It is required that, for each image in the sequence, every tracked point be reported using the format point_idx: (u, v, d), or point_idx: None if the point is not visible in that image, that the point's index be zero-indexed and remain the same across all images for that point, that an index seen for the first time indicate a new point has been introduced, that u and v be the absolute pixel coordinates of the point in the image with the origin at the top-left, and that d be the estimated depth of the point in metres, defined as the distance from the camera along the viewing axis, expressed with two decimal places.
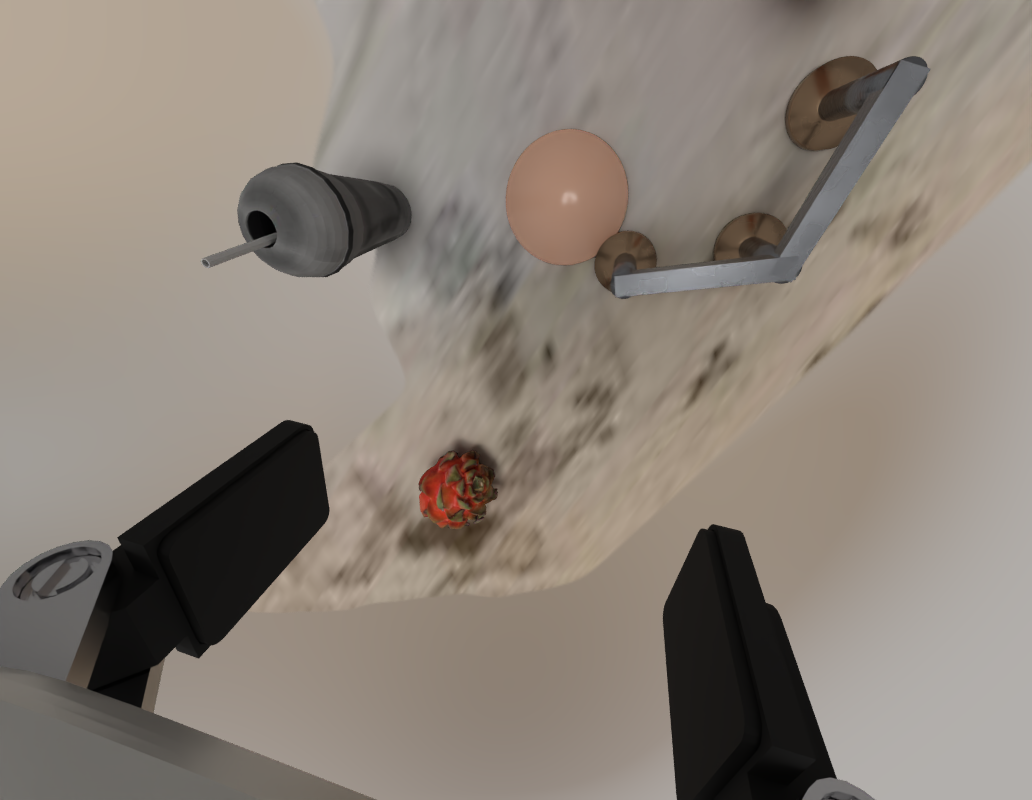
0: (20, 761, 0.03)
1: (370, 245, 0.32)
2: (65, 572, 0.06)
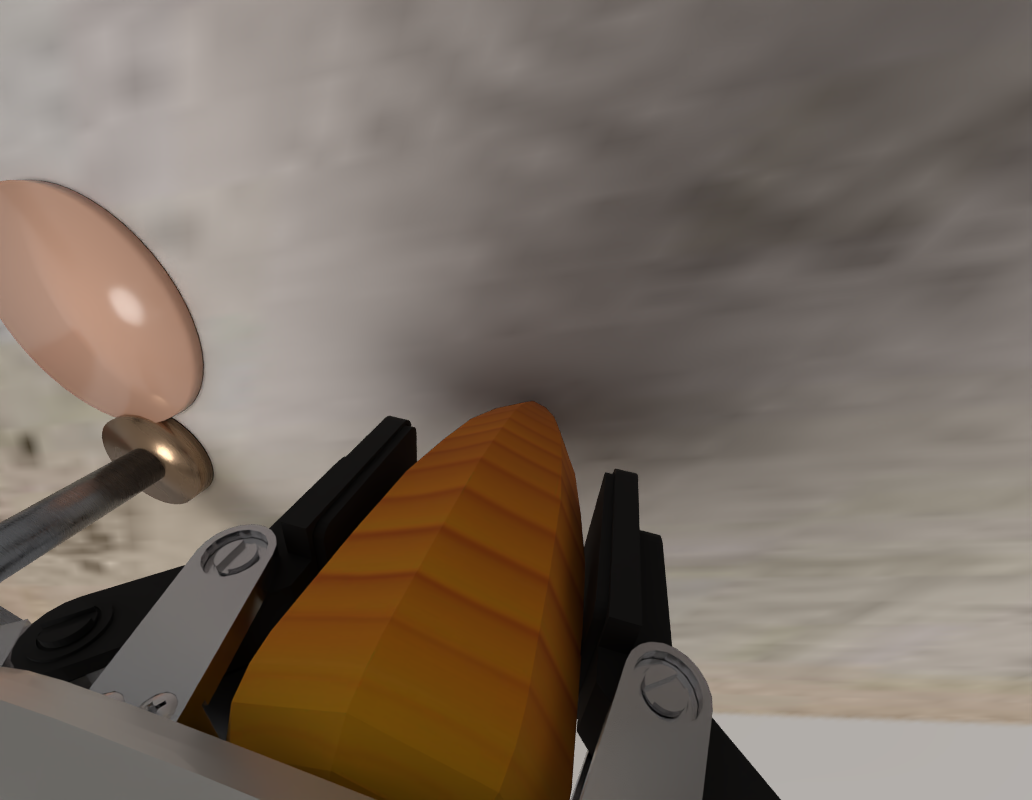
0: (20, 761, 0.03)
1: None
2: (238, 552, 0.07)
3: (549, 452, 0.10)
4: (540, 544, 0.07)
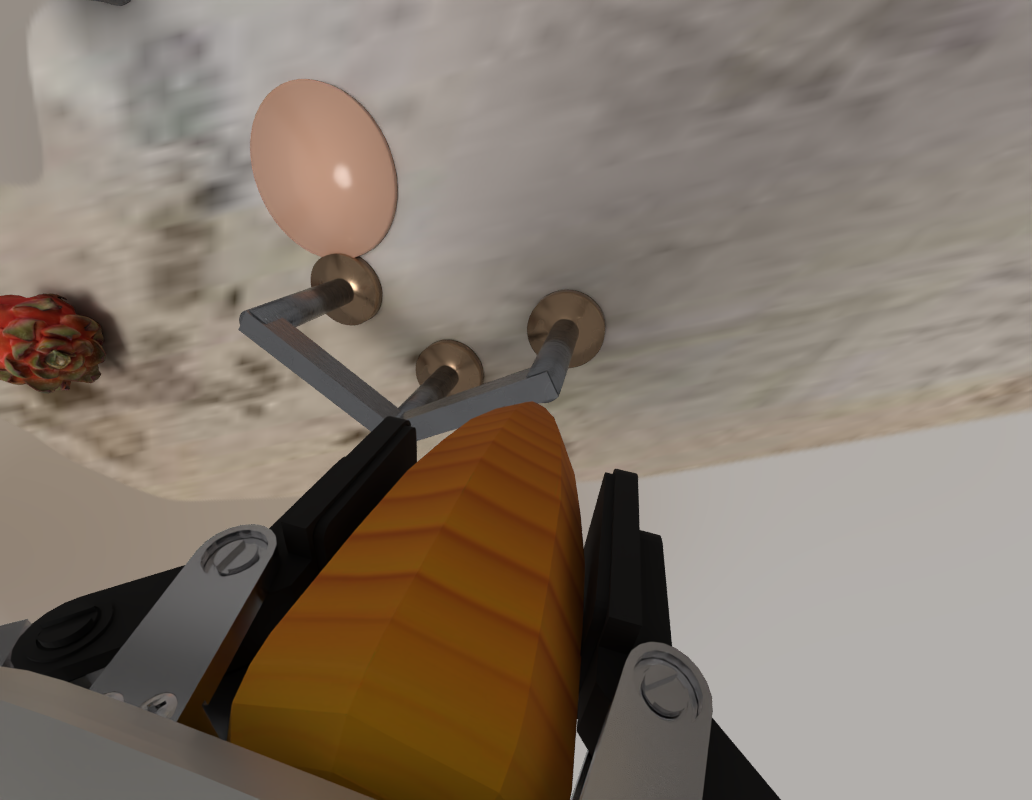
0: (20, 761, 0.03)
1: None
2: (238, 552, 0.07)
3: (548, 453, 0.10)
4: (540, 544, 0.07)
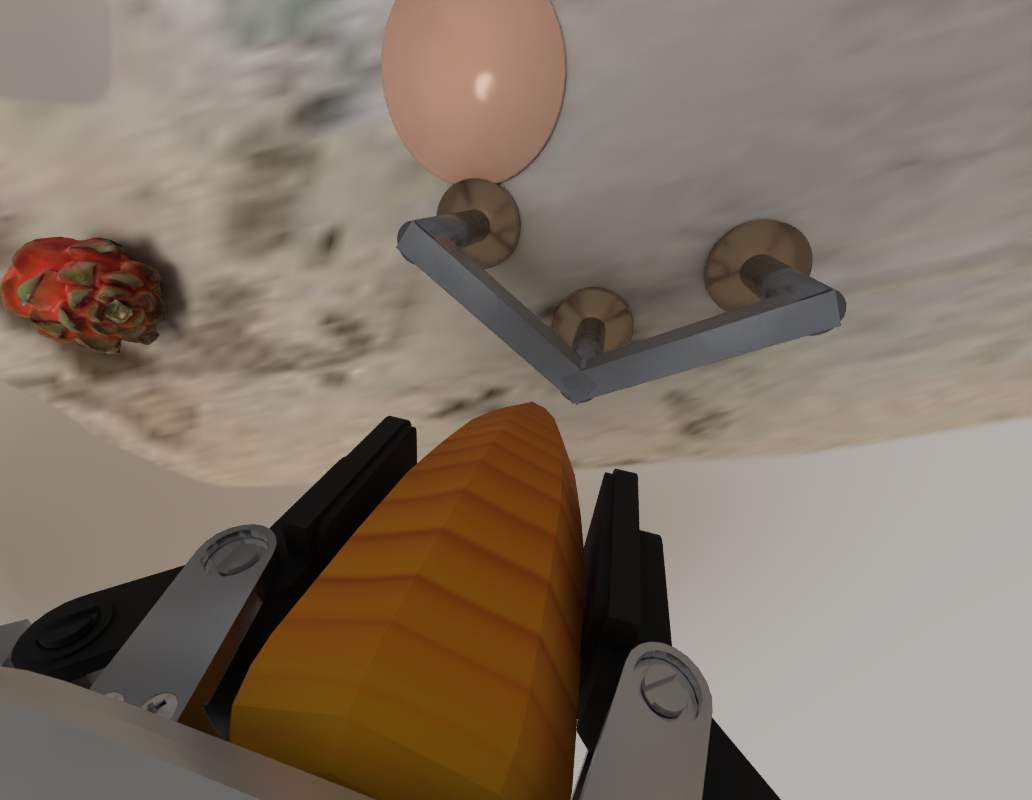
0: (20, 761, 0.03)
1: None
2: (238, 552, 0.07)
3: (549, 454, 0.10)
4: (540, 546, 0.07)
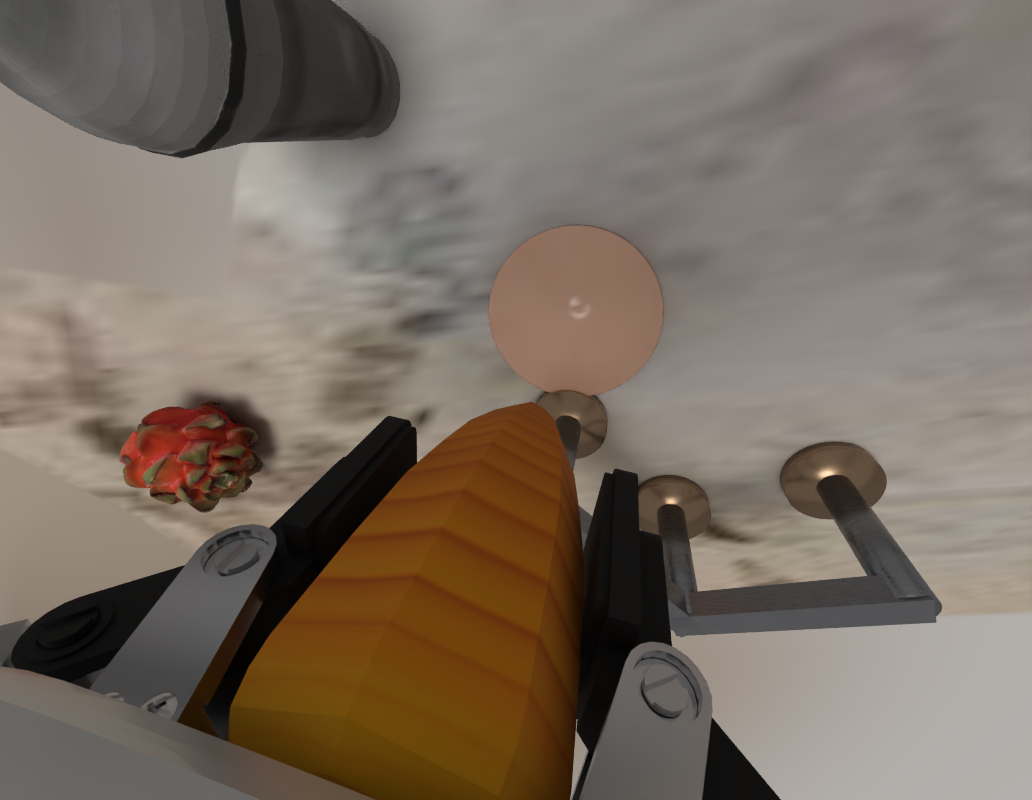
0: (20, 761, 0.03)
1: (269, 141, 0.16)
2: (238, 552, 0.07)
3: (548, 454, 0.10)
4: (540, 546, 0.07)
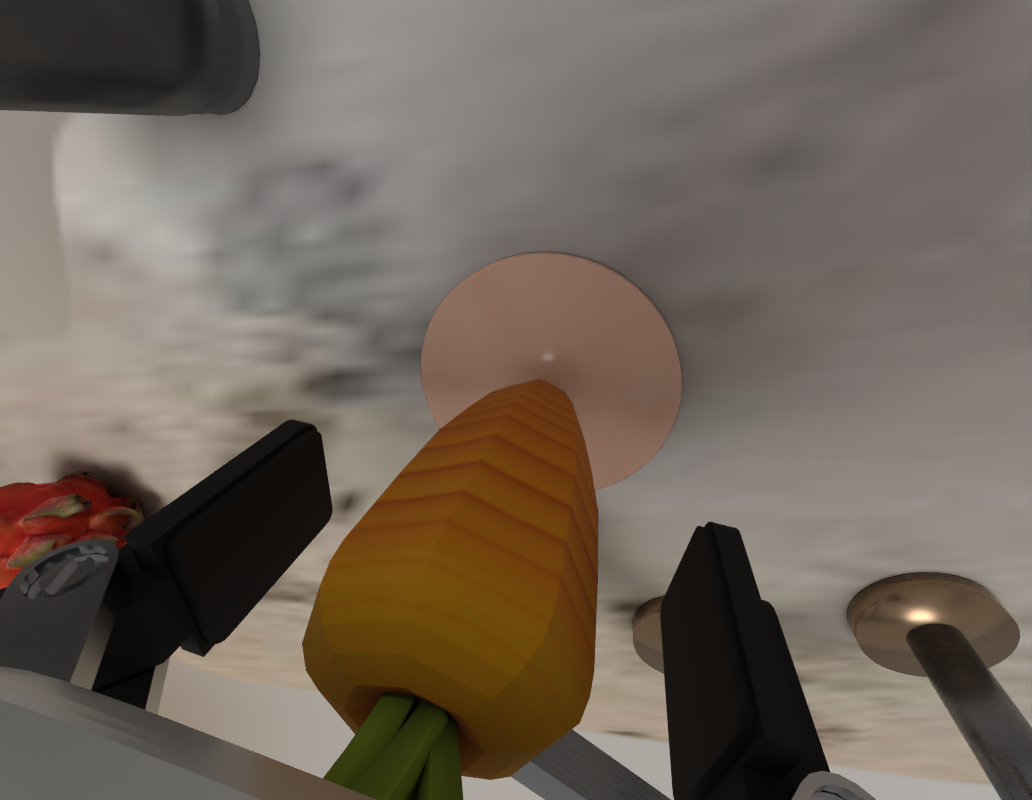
0: (20, 761, 0.03)
1: None
2: (72, 570, 0.06)
3: (564, 416, 0.11)
4: (562, 481, 0.08)
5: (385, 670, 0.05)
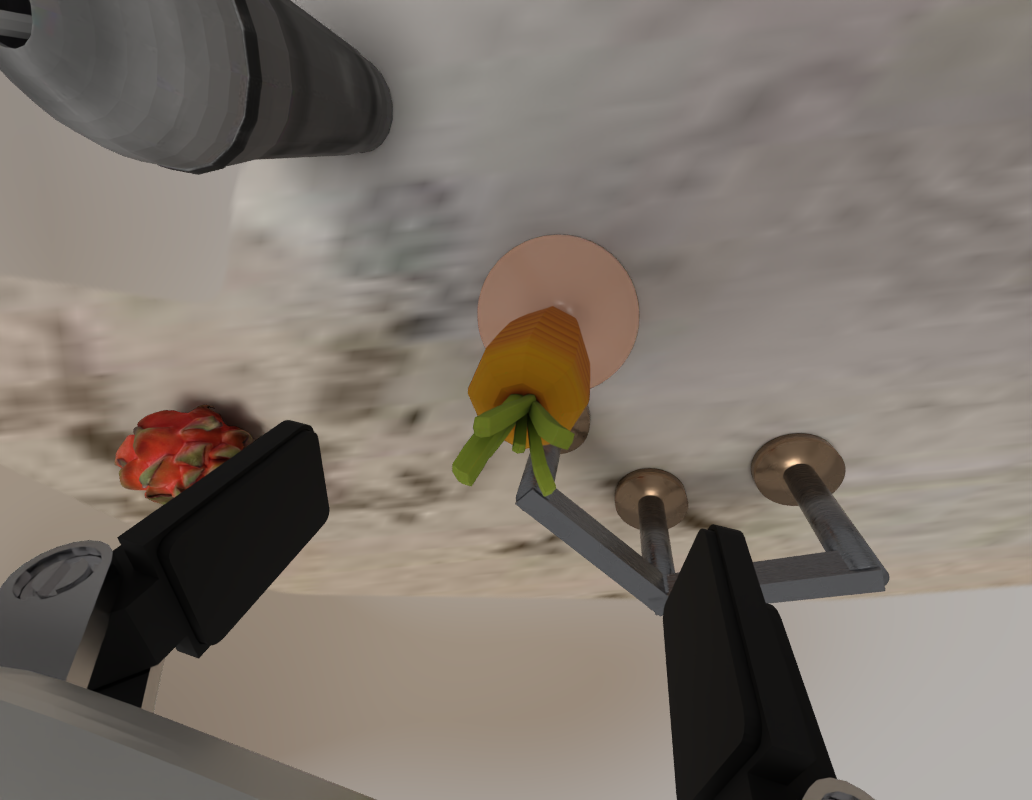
0: (20, 761, 0.03)
1: (274, 157, 0.18)
2: (65, 572, 0.06)
3: (572, 319, 0.20)
4: (573, 334, 0.18)
5: (514, 378, 0.15)
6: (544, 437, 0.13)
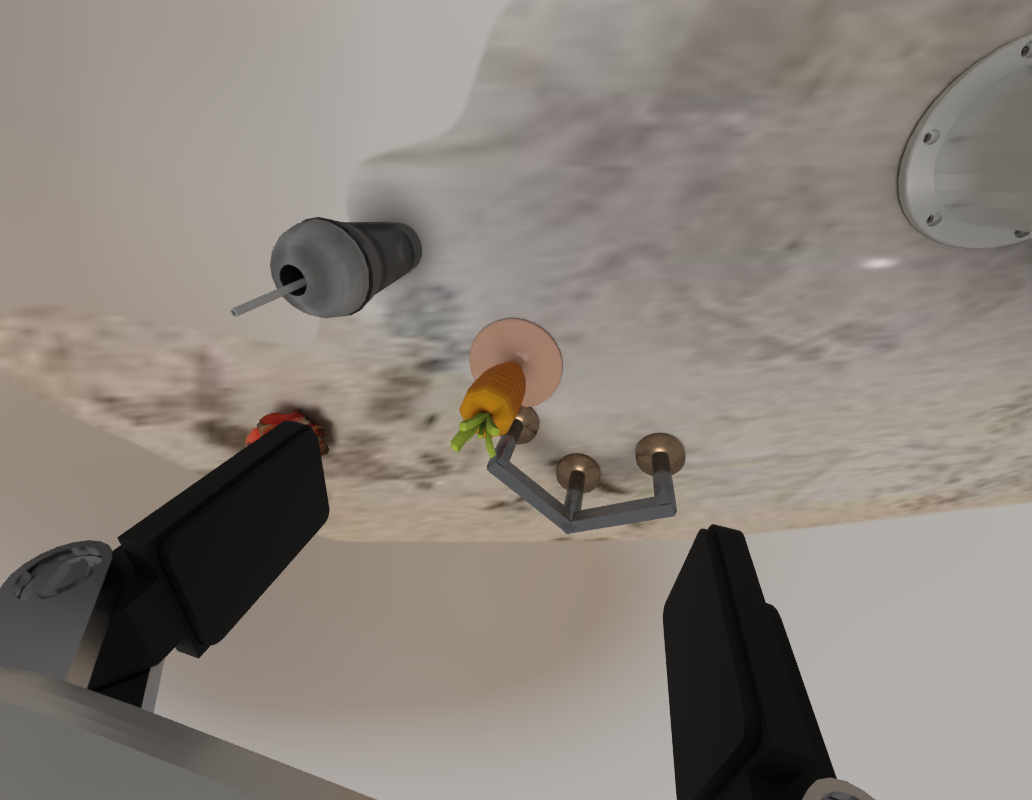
0: (20, 761, 0.03)
1: None
2: (65, 572, 0.06)
3: (517, 370, 0.38)
4: (513, 381, 0.36)
5: (479, 405, 0.33)
6: (488, 431, 0.31)
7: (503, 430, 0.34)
